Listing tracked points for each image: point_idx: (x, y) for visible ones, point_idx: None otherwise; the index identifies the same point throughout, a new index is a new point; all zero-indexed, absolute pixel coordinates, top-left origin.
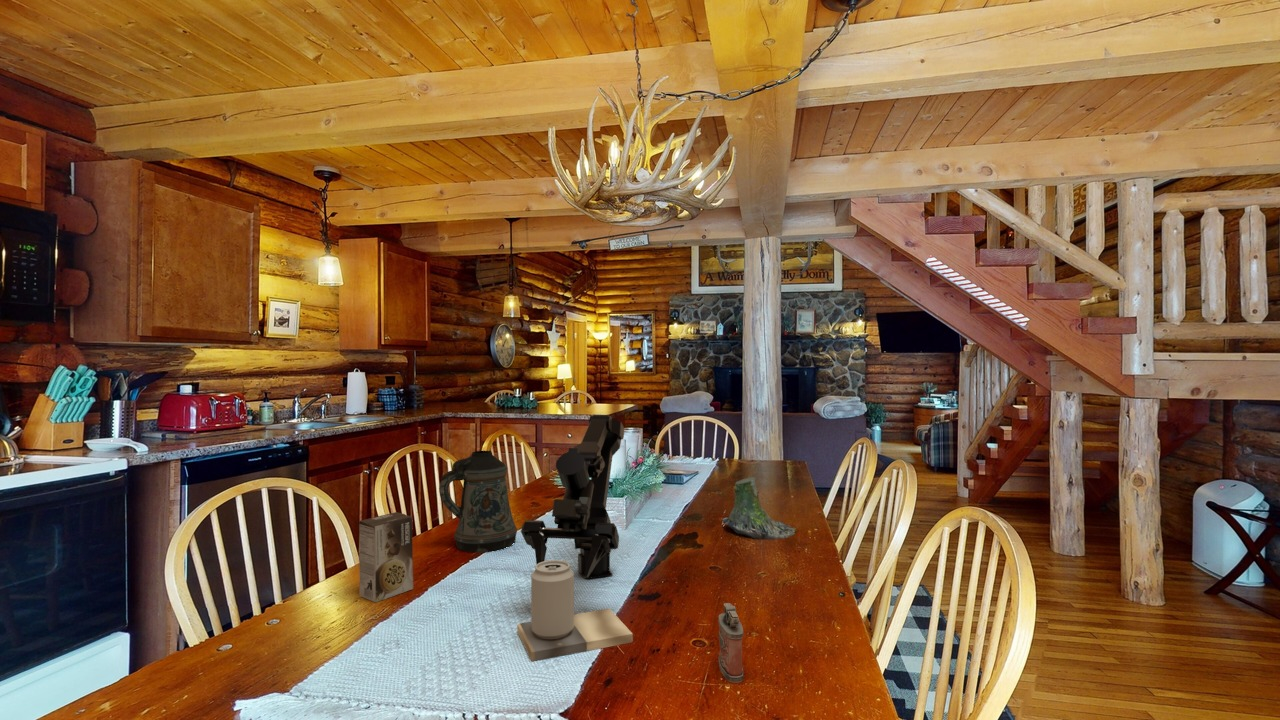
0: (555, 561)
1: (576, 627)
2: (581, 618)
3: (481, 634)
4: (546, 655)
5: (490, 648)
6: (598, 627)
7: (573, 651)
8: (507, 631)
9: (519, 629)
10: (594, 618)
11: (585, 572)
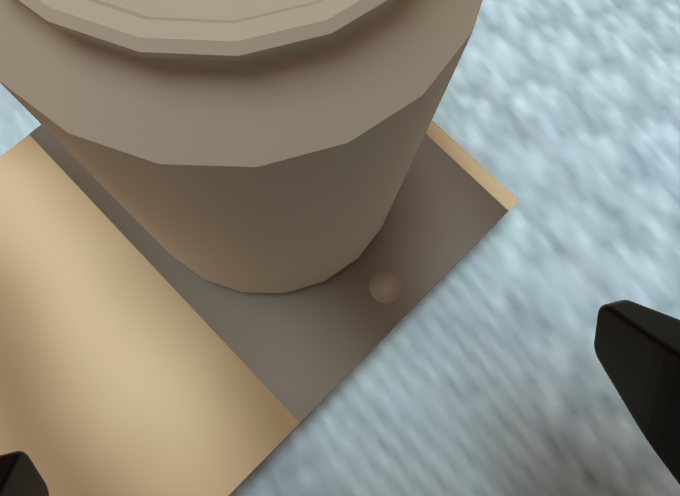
0: (283, 17)
1: (163, 282)
2: (189, 417)
3: (647, 132)
4: None
5: (508, 30)
6: (27, 333)
7: None
8: (554, 205)
9: (469, 160)
10: (103, 453)
11: (7, 472)
